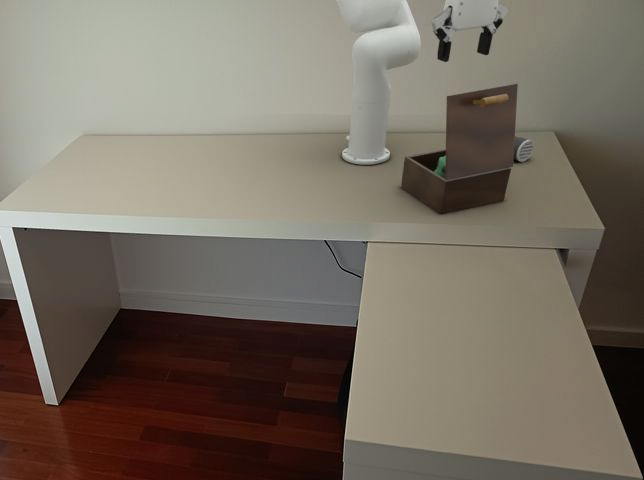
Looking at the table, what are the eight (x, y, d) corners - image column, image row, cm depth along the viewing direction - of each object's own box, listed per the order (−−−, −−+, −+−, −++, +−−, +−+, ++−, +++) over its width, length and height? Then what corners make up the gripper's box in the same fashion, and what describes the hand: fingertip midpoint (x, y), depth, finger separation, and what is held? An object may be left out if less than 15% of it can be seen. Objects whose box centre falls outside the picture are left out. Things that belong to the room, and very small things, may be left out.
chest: (400, 187, 160) (404, 156, 155) (459, 175, 162) (465, 145, 158) (440, 214, 147) (445, 181, 142) (503, 200, 149) (511, 168, 145)
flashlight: (470, 147, 176) (473, 127, 173) (485, 142, 178) (489, 123, 175) (515, 163, 165) (520, 143, 162) (531, 159, 167) (536, 138, 163)
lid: (446, 95, 135) (461, 95, 131) (515, 83, 138) (532, 82, 133) (445, 179, 142) (459, 182, 137) (510, 166, 145) (526, 168, 140)
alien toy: (426, 184, 158) (432, 144, 152) (457, 181, 158) (464, 140, 152) (437, 196, 152) (444, 154, 146) (469, 192, 152) (478, 151, 146)
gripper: (504, -42, 132) (486, 47, 143) (429, -32, 129) (416, 59, 140) (529, -39, 127) (509, 54, 137) (451, -28, 124) (437, 67, 134)
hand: (462, 57), depth 138 cm, fingers open, 9 cm apart
